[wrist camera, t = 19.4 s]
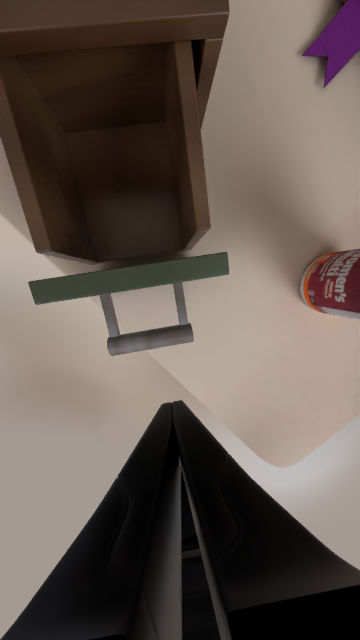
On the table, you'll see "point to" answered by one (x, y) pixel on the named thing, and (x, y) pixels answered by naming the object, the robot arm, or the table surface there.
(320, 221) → the table surface
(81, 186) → the drawer
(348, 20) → the book
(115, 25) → the cabinet
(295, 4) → the table surface
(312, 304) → the pill bottle
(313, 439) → the table surface
